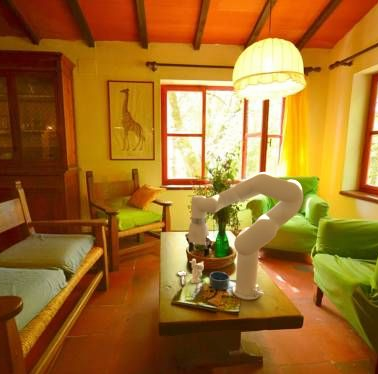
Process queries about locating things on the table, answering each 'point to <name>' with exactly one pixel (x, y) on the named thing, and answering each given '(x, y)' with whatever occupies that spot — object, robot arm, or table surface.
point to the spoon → (182, 276)
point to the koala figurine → (196, 271)
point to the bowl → (219, 280)
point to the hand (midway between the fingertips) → (198, 253)
